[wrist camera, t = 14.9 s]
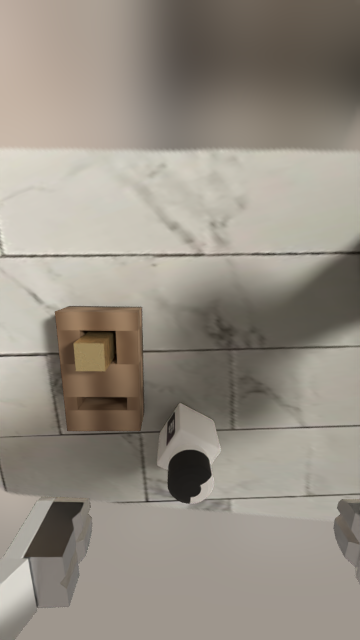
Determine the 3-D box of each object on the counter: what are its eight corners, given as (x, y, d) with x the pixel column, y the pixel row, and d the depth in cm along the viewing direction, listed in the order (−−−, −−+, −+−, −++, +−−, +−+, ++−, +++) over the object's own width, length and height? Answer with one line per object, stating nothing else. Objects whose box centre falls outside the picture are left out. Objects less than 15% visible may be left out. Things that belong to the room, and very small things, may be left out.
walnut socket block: (141, 306, 40) (137, 312, 35) (144, 412, 44) (140, 430, 39) (69, 306, 39) (54, 311, 34) (79, 412, 44) (67, 430, 39)
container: (158, 432, 45) (152, 498, 32) (179, 401, 44) (181, 456, 31) (193, 450, 46) (200, 519, 33) (214, 419, 45) (230, 480, 32)
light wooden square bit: (117, 328, 39) (103, 343, 31) (118, 350, 40) (105, 371, 32) (93, 327, 39) (73, 343, 31) (95, 350, 40) (75, 371, 32)
